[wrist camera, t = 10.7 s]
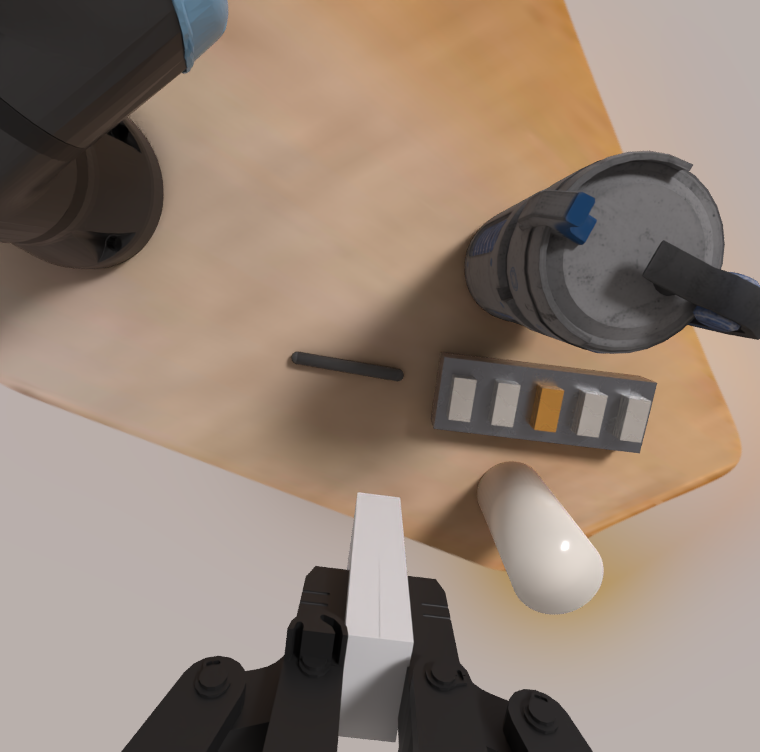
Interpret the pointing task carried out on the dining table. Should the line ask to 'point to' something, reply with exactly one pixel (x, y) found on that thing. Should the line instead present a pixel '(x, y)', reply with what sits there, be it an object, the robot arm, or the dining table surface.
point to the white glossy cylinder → (538, 540)
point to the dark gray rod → (347, 366)
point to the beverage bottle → (613, 259)
